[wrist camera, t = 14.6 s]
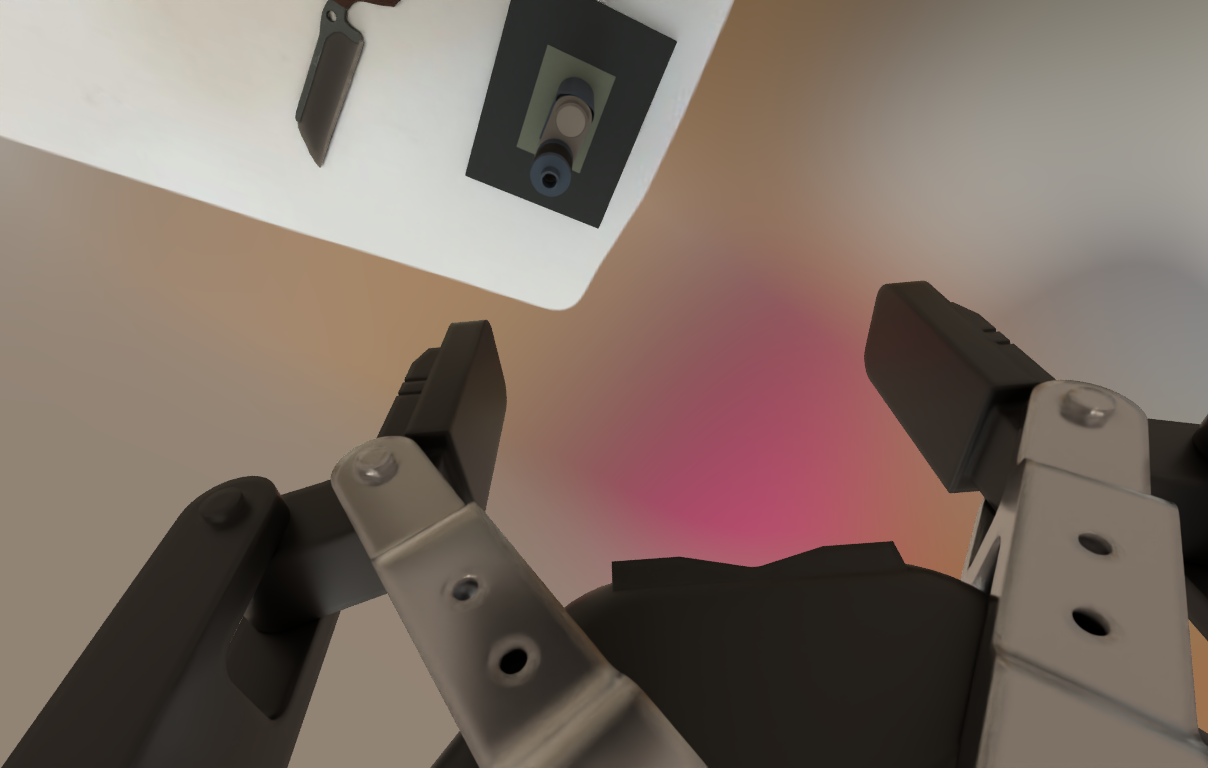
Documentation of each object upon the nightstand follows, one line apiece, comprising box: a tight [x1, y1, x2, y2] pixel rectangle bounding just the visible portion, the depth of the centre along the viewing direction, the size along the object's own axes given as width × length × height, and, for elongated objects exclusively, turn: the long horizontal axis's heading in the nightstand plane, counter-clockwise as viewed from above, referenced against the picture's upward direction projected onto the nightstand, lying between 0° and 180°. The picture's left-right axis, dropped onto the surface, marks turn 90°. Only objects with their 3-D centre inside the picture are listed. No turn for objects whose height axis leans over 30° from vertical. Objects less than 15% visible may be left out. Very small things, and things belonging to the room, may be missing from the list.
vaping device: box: [530, 77, 595, 197], centre depth 35 cm, size 3×5×12 cm, turn 153°
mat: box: [465, 0, 677, 228], centre depth 40 cm, size 14×11×1 cm
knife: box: [295, 0, 400, 168], centre depth 38 cm, size 14×4×1 cm, turn 147°
